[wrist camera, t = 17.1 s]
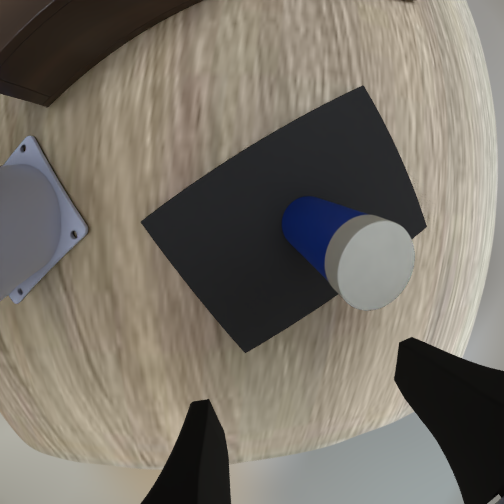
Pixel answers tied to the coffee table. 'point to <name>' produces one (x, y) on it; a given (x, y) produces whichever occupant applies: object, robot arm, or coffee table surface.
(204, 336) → the coffee table surface
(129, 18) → the cabinet
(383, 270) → the blue pill bottle
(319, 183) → the mat
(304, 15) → the coffee table surface
